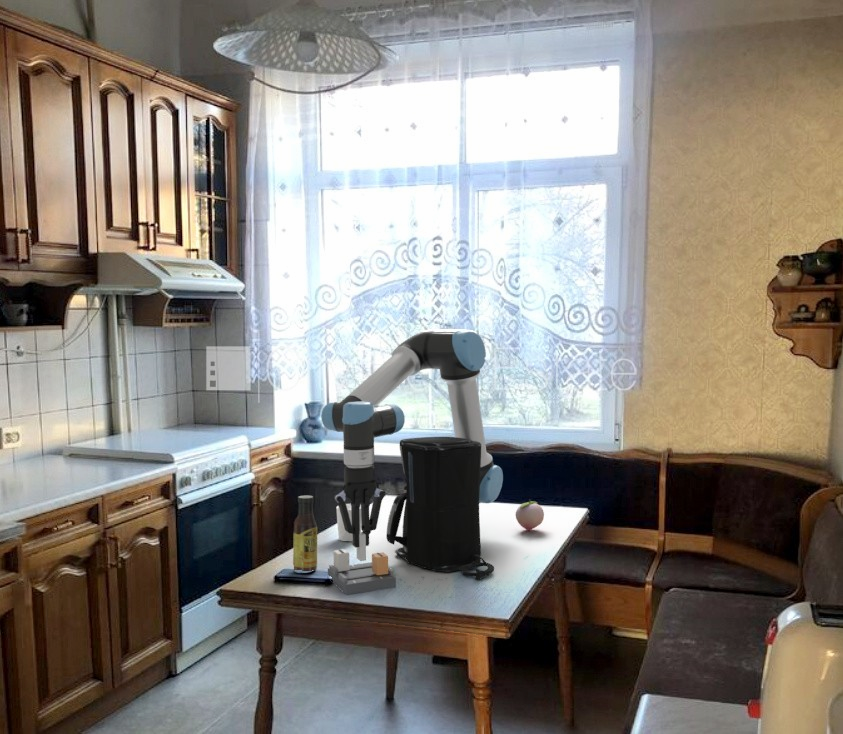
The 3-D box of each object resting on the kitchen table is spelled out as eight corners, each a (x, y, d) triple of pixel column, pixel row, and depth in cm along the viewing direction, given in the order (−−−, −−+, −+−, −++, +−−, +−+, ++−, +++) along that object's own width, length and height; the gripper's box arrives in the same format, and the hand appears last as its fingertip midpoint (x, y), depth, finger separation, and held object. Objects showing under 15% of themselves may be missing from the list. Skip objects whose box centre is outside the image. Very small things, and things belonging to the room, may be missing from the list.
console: (327, 578, 205) (327, 563, 205) (375, 571, 210) (374, 557, 210) (346, 594, 192) (346, 579, 192) (395, 587, 198) (395, 572, 197)
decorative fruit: (536, 536, 243) (536, 503, 243) (512, 532, 247) (512, 500, 247) (548, 529, 251) (548, 497, 251) (524, 525, 255) (524, 495, 255)
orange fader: (372, 571, 200) (371, 553, 200) (383, 569, 202) (382, 551, 201) (377, 575, 197) (377, 556, 197) (388, 573, 198) (388, 555, 198)
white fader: (333, 567, 203) (333, 549, 203) (344, 566, 205) (344, 548, 204) (338, 571, 200) (337, 553, 200) (349, 570, 202) (349, 551, 201)
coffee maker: (424, 542, 237) (424, 430, 235) (521, 560, 219) (521, 438, 217) (377, 561, 219) (376, 439, 217) (478, 583, 200) (478, 450, 198)
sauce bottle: (306, 576, 206) (305, 500, 205) (288, 572, 209) (287, 497, 208) (322, 569, 212) (321, 495, 211) (304, 566, 215) (303, 493, 214)
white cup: (332, 541, 239) (331, 508, 238) (344, 534, 246) (344, 502, 246) (355, 544, 236) (355, 510, 235) (367, 537, 243) (367, 504, 243)
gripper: (339, 470, 189) (341, 567, 191) (389, 465, 195) (391, 559, 197) (329, 465, 196) (331, 558, 198) (378, 459, 202) (380, 551, 203)
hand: (361, 559), depth 197 cm, fingers closed
